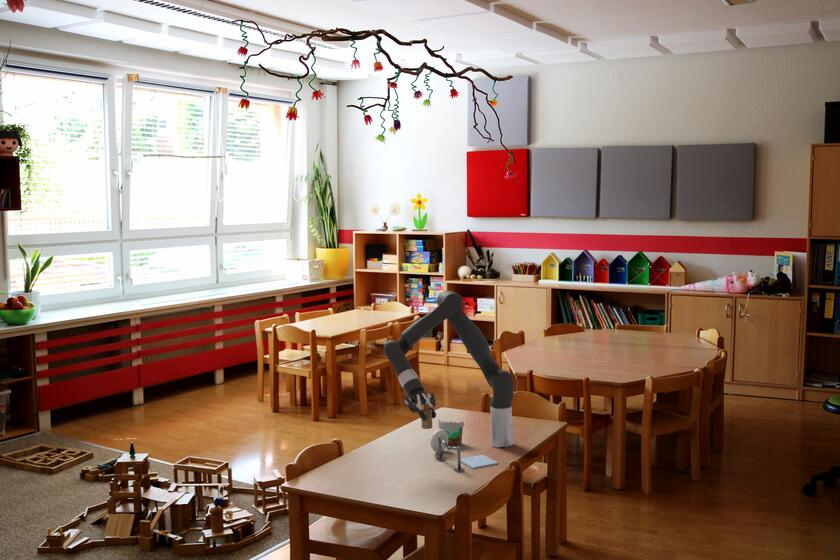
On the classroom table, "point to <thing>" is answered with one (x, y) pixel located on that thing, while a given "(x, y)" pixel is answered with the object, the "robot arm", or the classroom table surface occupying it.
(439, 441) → the grey stand
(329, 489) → the classroom table surface
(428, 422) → the brown bottle
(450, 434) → the food container
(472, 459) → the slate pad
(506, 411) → the robot arm
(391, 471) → the classroom table surface
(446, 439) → the grey wheel
